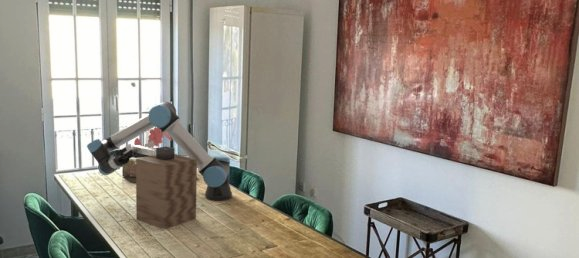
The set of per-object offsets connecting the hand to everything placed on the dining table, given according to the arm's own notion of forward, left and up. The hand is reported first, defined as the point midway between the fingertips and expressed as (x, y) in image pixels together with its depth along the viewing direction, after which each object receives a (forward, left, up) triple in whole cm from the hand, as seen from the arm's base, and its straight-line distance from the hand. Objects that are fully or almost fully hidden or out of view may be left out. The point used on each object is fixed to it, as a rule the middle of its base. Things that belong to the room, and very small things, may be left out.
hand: (142, 144), depth 247 cm
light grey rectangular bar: (0, +7, -4) cm, 8 cm away
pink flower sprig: (-38, -35, -34) cm, 62 cm away
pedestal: (0, +18, -34) cm, 39 cm away
